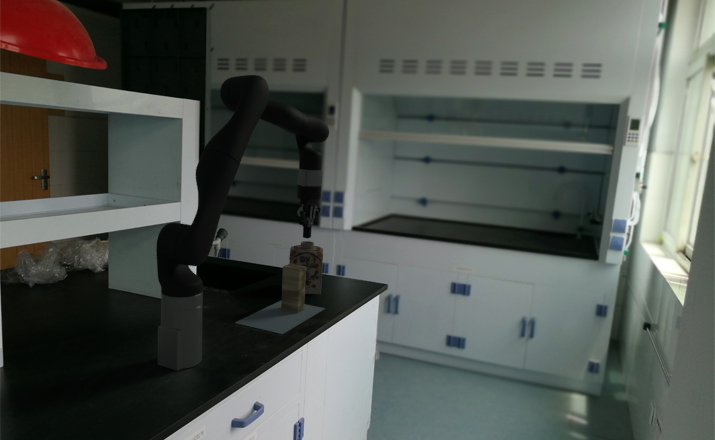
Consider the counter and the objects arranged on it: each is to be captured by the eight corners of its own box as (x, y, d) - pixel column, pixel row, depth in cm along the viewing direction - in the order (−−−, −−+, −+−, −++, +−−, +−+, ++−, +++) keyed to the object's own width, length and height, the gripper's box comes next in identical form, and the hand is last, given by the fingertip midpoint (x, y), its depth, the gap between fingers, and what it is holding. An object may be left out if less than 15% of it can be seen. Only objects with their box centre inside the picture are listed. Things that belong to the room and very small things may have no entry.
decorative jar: (321, 287, 193) (323, 239, 190) (321, 296, 181) (324, 246, 179) (288, 286, 192) (290, 238, 189) (287, 295, 180) (289, 244, 178)
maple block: (297, 313, 160) (299, 269, 158) (281, 309, 163) (282, 266, 161) (304, 309, 164) (306, 266, 162) (287, 306, 166) (289, 263, 164)
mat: (282, 336, 143) (282, 334, 143) (234, 325, 149) (234, 322, 149) (325, 310, 167) (325, 308, 167) (282, 301, 173) (282, 299, 173)
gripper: (309, 181, 171) (306, 233, 174) (288, 183, 159) (285, 239, 162) (329, 183, 168) (326, 236, 171) (309, 186, 156) (307, 242, 159)
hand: (306, 237), depth 166 cm, fingers closed
